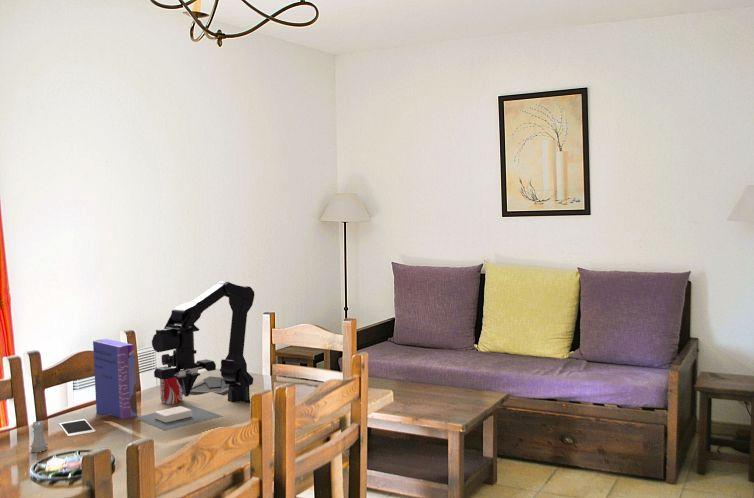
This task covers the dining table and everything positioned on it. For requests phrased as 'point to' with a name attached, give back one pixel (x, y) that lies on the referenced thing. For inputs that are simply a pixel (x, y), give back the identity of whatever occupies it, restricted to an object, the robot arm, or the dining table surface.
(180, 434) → the dining table surface
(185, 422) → the mat
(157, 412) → the tile
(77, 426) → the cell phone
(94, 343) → the cereal box
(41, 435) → the rook chess piece
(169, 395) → the soda can
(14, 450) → the dining table surface
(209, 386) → the grey angular slab
